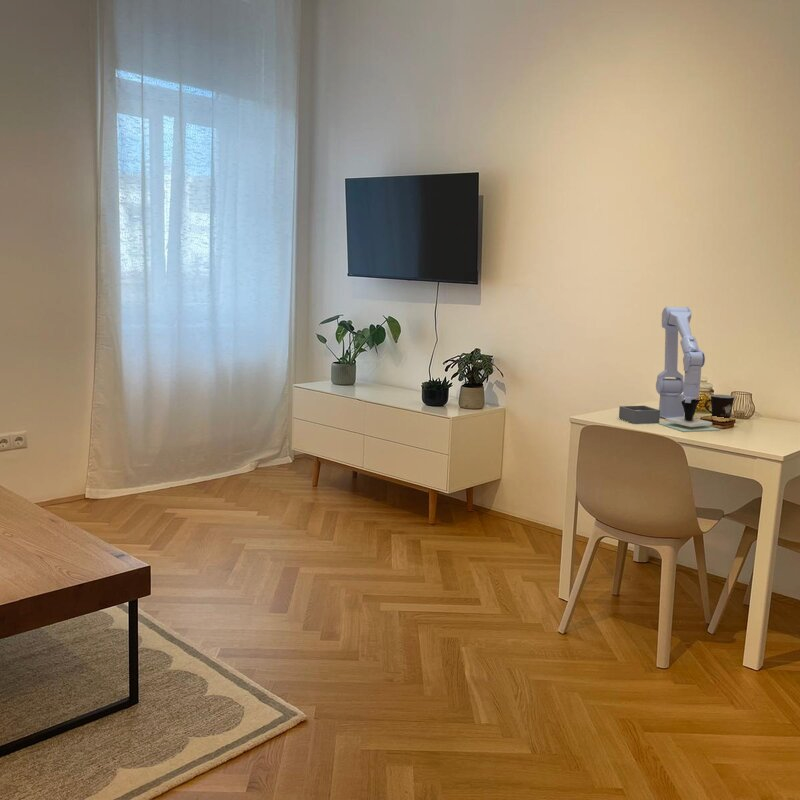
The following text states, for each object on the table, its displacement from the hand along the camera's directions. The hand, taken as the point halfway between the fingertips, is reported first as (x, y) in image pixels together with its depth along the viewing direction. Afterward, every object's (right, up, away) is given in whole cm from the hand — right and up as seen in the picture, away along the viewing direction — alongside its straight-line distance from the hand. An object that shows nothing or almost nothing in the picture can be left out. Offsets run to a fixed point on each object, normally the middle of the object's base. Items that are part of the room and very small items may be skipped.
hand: (689, 419), depth 315 cm
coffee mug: (+16, -1, +14) cm, 21 cm away
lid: (0, -1, 0) cm, 1 cm away
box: (-16, -1, +11) cm, 19 cm away
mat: (0, -3, 0) cm, 3 cm away
